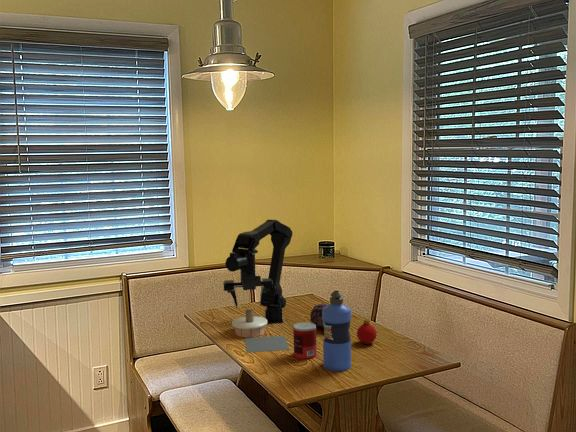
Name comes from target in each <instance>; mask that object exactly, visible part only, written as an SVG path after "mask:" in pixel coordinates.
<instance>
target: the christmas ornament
mask: <svg viewBox="0 0 576 432" xmlns="http://www.w3.org/2000/svg"><path fill="white" fill-rule="evenodd" d="M377 333H378V332H377V330H376V328H375V327H374V326H373V325H372V324H371V323H370V318H369V317H368V316H365V318H364V319H363V323H362V324H361V325H360V326H358V328H357V330H356V337H357V339H358V341H360V342H361V343H362V344H365V345H369V344H371V343H374V342H375V340H376V339H377Z"/></svg>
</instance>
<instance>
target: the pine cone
mask: <svg viewBox="0 0 576 432" xmlns="http://www.w3.org/2000/svg"><path fill="white" fill-rule="evenodd" d="M329 305H330V304H327V303H318V304H315V305H314V306H313V308H312V309H311V311H310V313H309V316H310V319H309V321H310V323H313V324H315V325H316V327H317V326H318V327H319V328H320V329H321V328H324V325H323V320H322V309H323V308H324V307H327V306H329Z"/></svg>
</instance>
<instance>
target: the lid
mask: <svg viewBox="0 0 576 432" xmlns="http://www.w3.org/2000/svg"><path fill="white" fill-rule="evenodd" d="M244 311H245V313H244V314H245V316H241V317H237V318H235V319H233V320H232V322H231V327H232V326H233V327H234V328H235V327H236V328H239V329H256V328H261V327H264V326H267V324H268V323H267V319H265V317H263V316H259V315H258V316H255V315H254V309H253V308H247V309H245V310H244Z"/></svg>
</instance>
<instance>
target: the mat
mask: <svg viewBox="0 0 576 432" xmlns="http://www.w3.org/2000/svg"><path fill="white" fill-rule="evenodd" d="M244 342H245V343H244V344H245V348H246V353H247V354H249V353H262V352H273V351H274V352H276V351H290V350H291V349H290V346H289V344H288V341H287V339H286V337H285V335H274V336H262V337H261V336H257V337H244Z"/></svg>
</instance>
